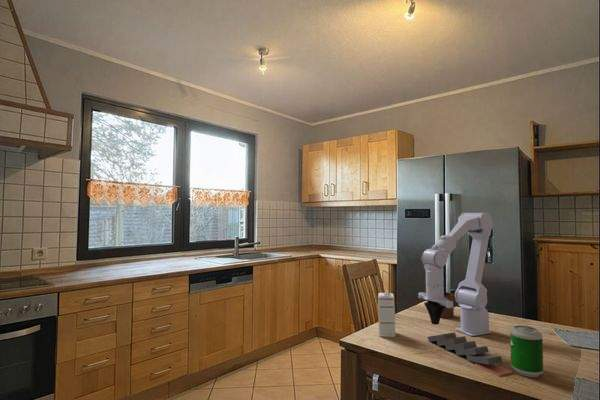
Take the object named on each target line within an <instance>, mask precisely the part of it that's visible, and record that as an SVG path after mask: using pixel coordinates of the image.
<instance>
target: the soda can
mask: <svg viewBox="0 0 600 400" xmlns="http://www.w3.org/2000/svg"><path fill="white" fill-rule="evenodd" d="M509 332H510V334H509V335H510V336H509V337H510V366H511V368H512V369H513V370H514V371H515V373H517V374H518V375H521V376H523V377H527V378H538V377H540V375H543V373H544V349H543V348H544V347H543V344H544V343H543V334H542V333H541V332H540V331H539V329H538V328H535V327H533V326H528V325H521V324H520V325H519V324H518V325H514V326H513V327H512V328H511V329H510V331H509Z"/></svg>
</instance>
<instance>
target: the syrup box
mask: <svg viewBox="0 0 600 400" xmlns="http://www.w3.org/2000/svg"><path fill="white" fill-rule="evenodd" d="M377 302H378V303H377V304H378V306H377V307H378V310H377V311H378V331H379V332H378V333H379V337H382V338H383V337H384V338H396V309H395V296H394V293H392V292H378V294H377Z"/></svg>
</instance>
